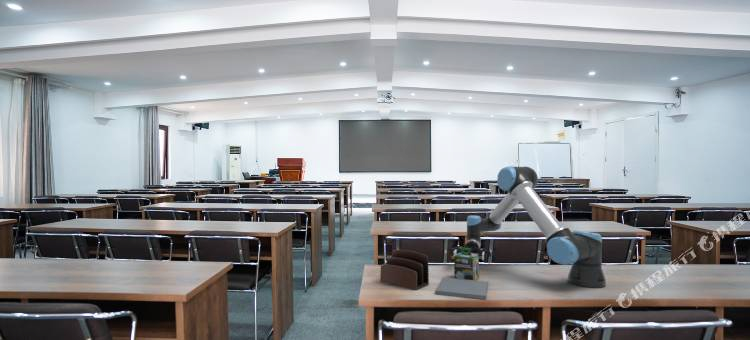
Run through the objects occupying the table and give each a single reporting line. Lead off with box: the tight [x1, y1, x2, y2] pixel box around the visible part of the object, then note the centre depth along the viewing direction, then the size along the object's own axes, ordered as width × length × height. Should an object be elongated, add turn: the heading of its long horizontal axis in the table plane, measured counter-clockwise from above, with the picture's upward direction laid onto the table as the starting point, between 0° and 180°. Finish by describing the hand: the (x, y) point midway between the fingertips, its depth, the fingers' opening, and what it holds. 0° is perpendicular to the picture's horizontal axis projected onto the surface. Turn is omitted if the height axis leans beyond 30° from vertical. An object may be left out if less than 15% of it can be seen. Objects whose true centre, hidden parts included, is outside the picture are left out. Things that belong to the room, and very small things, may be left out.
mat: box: [434, 277, 489, 300], centre depth 171 cm, size 20×20×2 cm
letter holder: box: [380, 249, 430, 291], centre depth 180 cm, size 10×20×14 cm, turn 51°
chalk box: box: [453, 247, 480, 281], centre depth 186 cm, size 9×9×15 cm
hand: (468, 256), depth 195 cm, fingers open, 13 cm apart
